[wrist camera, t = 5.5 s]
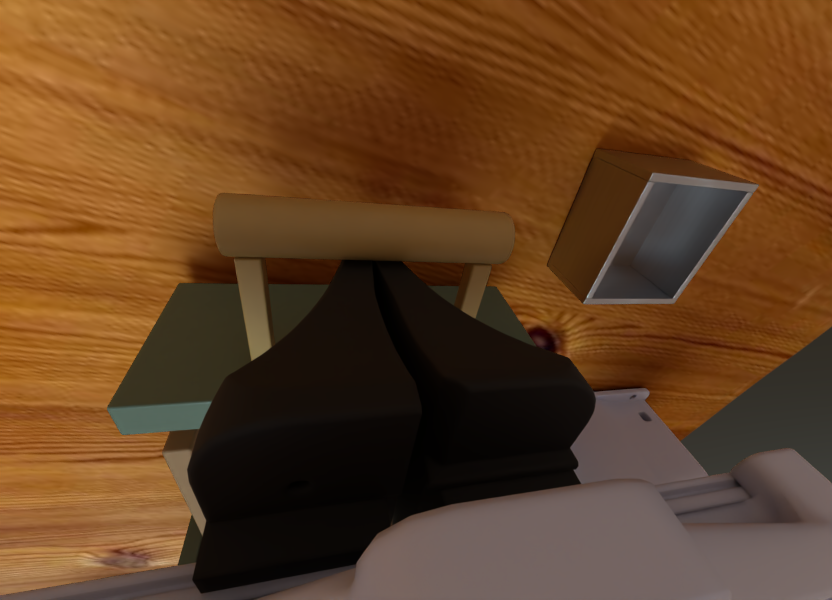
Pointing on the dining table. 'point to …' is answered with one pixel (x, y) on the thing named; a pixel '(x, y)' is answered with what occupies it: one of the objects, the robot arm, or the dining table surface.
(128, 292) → the dining table surface
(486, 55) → the dining table surface
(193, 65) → the dining table surface
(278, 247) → the drawer
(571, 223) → the open metal box
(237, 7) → the dining table surface
